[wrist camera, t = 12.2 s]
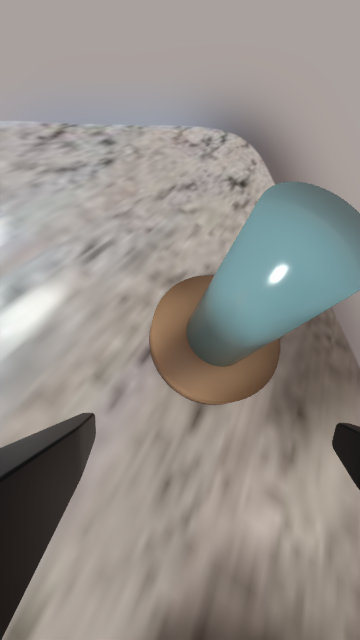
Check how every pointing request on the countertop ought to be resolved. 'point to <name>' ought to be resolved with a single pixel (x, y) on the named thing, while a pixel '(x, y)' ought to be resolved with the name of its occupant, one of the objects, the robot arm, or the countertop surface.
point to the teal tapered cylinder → (278, 273)
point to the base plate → (187, 367)
